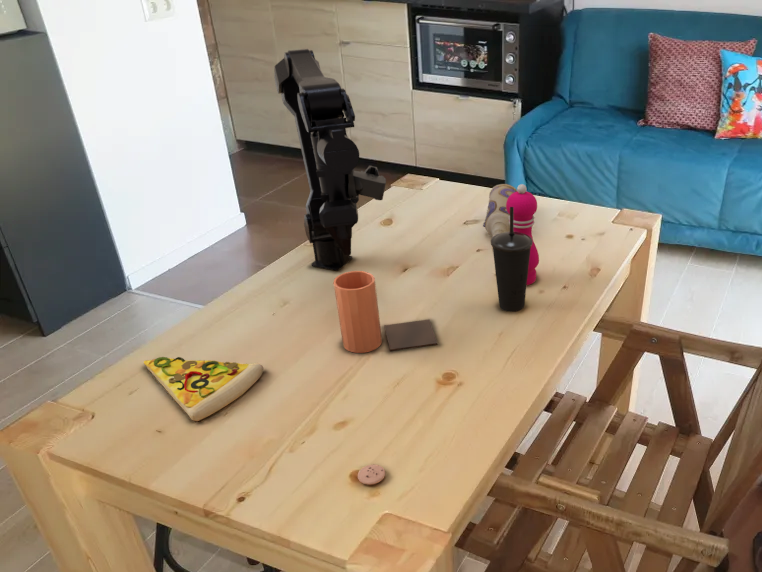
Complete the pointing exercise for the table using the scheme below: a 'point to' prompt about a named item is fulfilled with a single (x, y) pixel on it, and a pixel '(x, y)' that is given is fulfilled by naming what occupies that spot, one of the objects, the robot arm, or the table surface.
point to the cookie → (371, 474)
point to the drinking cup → (511, 266)
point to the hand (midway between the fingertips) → (348, 246)
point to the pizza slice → (203, 382)
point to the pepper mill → (525, 223)
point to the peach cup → (358, 311)
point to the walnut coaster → (410, 335)
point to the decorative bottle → (498, 210)
